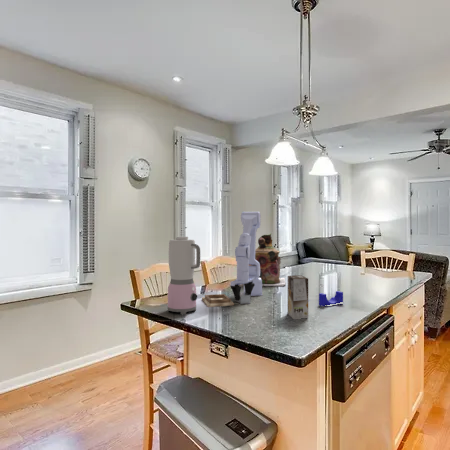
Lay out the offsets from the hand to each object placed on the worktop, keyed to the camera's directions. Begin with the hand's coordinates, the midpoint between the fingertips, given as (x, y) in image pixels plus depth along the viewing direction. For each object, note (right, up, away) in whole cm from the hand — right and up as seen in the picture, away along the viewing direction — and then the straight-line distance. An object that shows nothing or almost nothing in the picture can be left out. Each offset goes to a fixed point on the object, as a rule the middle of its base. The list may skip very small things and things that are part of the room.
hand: (242, 299), depth 164 cm
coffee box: (+21, -2, -26) cm, 33 cm away
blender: (-26, -2, -18) cm, 31 cm away
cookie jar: (+17, -2, +53) cm, 56 cm away
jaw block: (0, -2, 0) cm, 2 cm away
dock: (-12, -1, -1) cm, 12 cm away
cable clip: (+40, -2, -6) cm, 41 cm away
